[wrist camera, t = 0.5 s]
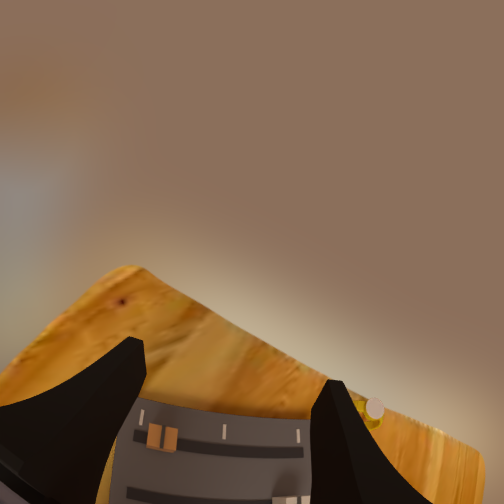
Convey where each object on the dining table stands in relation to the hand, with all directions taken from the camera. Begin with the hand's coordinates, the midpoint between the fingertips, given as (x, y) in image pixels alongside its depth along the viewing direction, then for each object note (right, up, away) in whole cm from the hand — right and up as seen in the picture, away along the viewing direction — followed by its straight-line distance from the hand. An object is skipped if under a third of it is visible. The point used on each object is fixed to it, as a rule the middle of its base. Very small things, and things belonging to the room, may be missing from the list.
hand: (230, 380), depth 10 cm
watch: (+13, -17, +20) cm, 29 cm away
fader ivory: (+4, -19, +9) cm, 22 cm away
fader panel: (-3, -17, +11) cm, 21 cm away
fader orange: (-7, -12, +11) cm, 18 cm away
